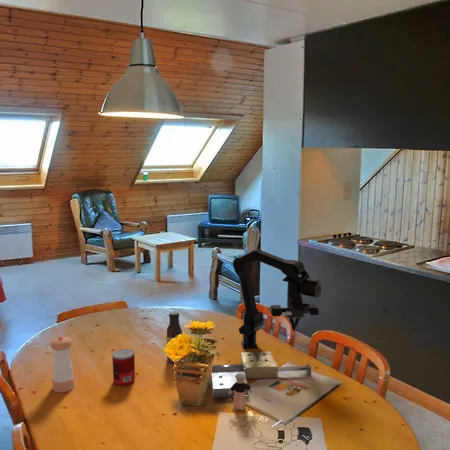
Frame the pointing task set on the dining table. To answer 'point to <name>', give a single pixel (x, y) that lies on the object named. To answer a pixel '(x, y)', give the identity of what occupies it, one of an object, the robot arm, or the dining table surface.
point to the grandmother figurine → (239, 392)
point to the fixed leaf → (226, 377)
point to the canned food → (123, 367)
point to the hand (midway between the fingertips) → (293, 330)
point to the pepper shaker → (62, 365)
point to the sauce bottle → (173, 328)
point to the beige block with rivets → (259, 365)
